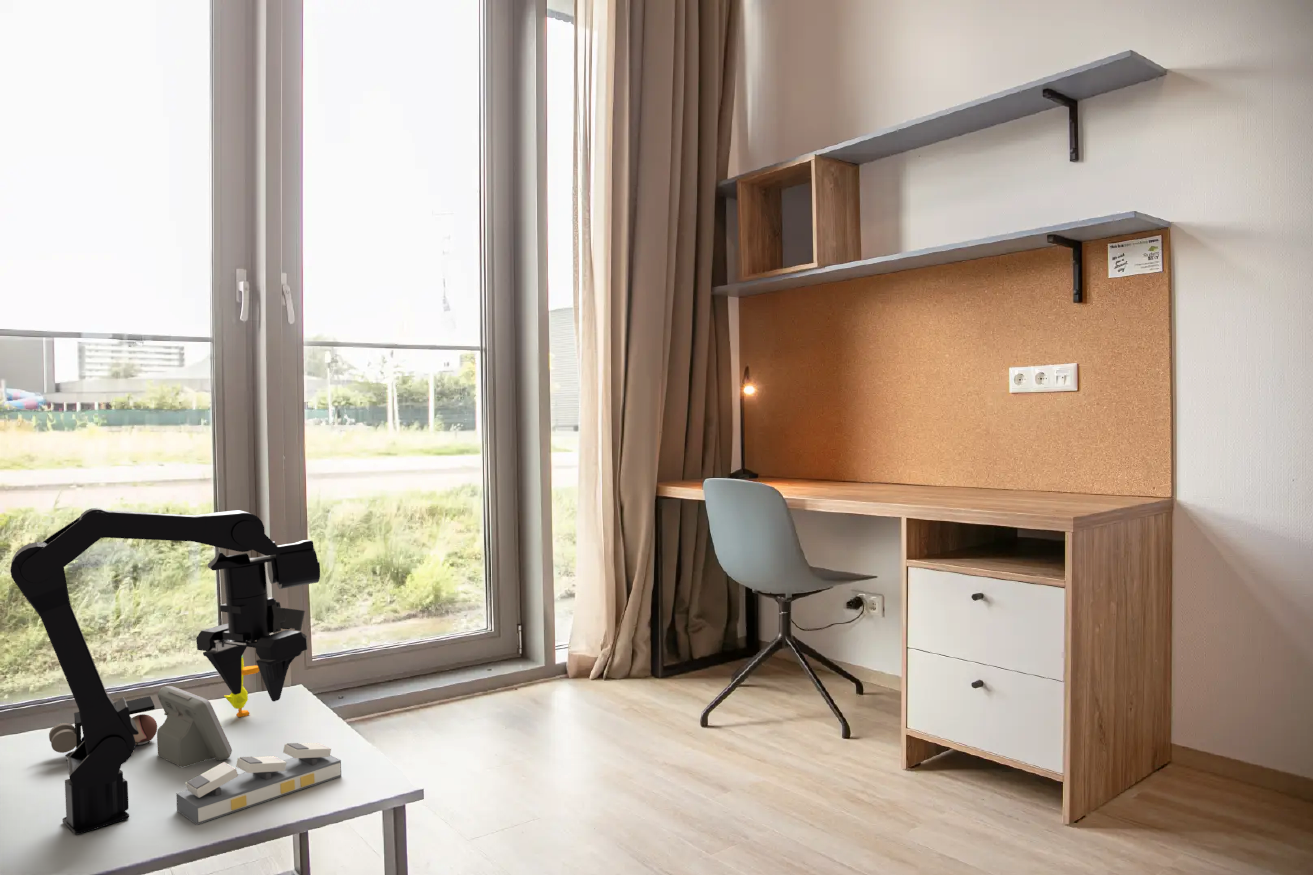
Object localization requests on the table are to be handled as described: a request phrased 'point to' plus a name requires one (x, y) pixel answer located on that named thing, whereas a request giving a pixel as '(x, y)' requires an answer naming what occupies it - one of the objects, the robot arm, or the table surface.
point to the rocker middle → (261, 764)
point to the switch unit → (257, 788)
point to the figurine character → (70, 737)
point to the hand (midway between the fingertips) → (256, 697)
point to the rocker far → (306, 750)
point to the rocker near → (211, 779)
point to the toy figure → (242, 691)
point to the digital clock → (189, 729)
